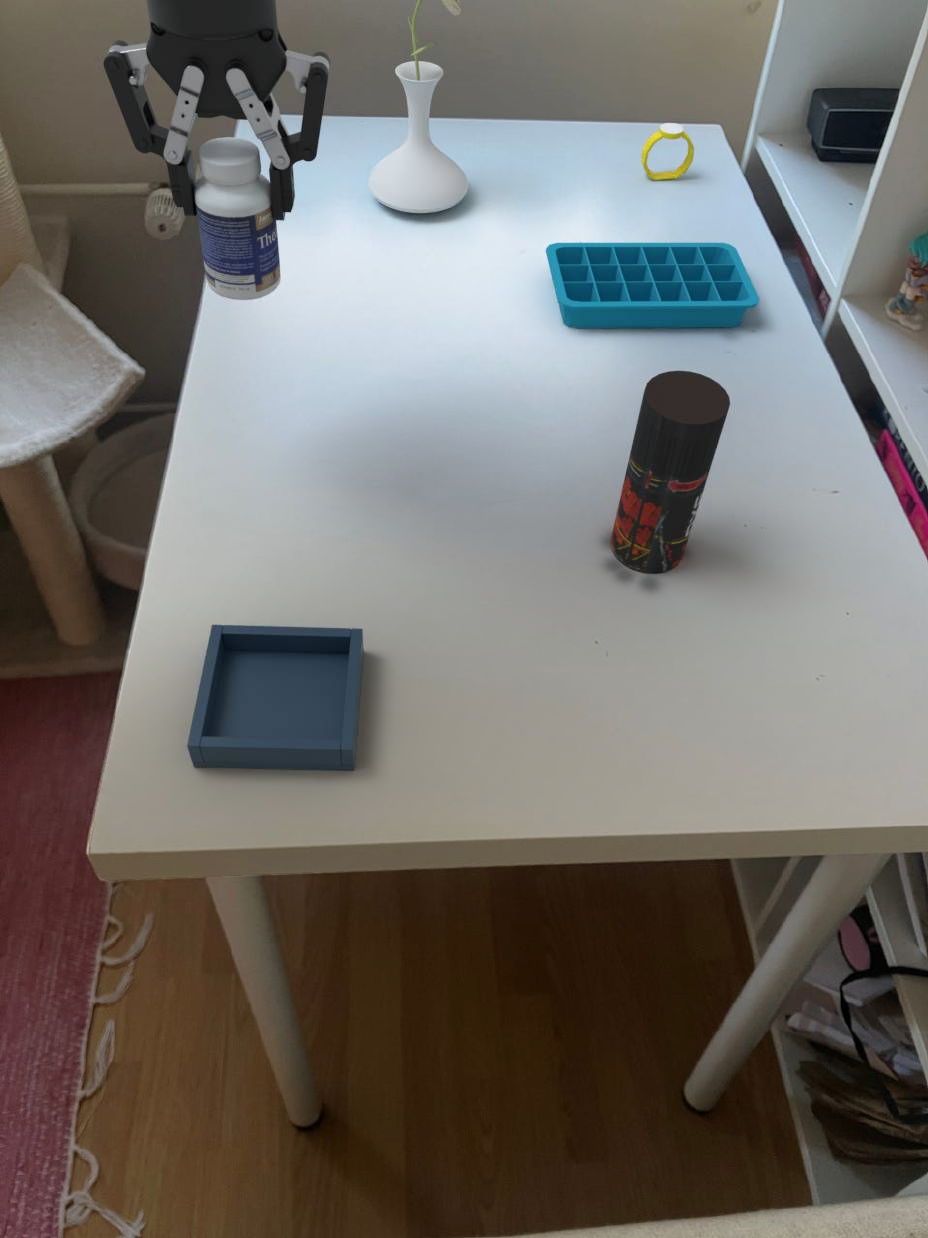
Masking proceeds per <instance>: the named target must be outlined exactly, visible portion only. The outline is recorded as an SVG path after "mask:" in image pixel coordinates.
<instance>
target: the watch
mask: <svg viewBox="0 0 928 1238" xmlns="http://www.w3.org/2000/svg"><path fill="white" fill-rule="evenodd" d="M684 129H685V128H684V127H683V126H682V125H681V124H678V123H674V122H666V123H662V124H661V125H660V126H659V129H658V131H656V132H654V133H653V134H652V135H650V136H649V138H648V139H647V141H646V142H645V144H644V145H643V148H642V151H641V157H640V161H641V164H642V167H643V170H644V172H645V174H646V175H647V176H648V177H649V178H651V179H652V180H653V181H654V182H655V181H662V180H663V181H664V180H678V179H679V178H680V177H682V176H683V175H684V174H685V173H686V172H687V171H688V170H689V169H690V166H691V165H692V163H693V160H694V155H695V146H694V144H693V142H692V140H691V138H690V136H689V134H688V133H687V132H686V131H685V130H684ZM680 138H682V139H684V140H685V141H686V142H687V154H686V156H685V158H684V160H683V162H682V164H680V165H679V166H678V167H677V168H675V170H672V171H661V172H654V171H652V170H651V169H649V166H648V158H649V153H650V151H651V150H652V148H653V147H654V145H656V143H657V142H660V141H661V140H662V139H667V140H677V139H680Z"/></svg>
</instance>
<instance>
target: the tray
mask: <svg viewBox="0 0 928 1238" xmlns="http://www.w3.org/2000/svg"><path fill="white" fill-rule="evenodd" d="M364 652H365V649H364V630H363V628H355V627H354V628H350V627H316V626H315V627H314V626H312V627H311V626H276V625H242V624H240V625H236V624H211V628H210V632H209V637H208V642H207V648H206V652H205V656H204V662H203V667H202V672H201V676H200V681H199V687H198V691H197V696H196V701H195V705H194V710H193V716H192V720H191V724H190V725H191V726H190V729H189V735H188V740H187V745H186V748H187V750H188V754H189V756H190V761H191V763H192V766H193V767H194V768H219V769H220V768H222V769H223V768H224V769H226V768H227V769H264V770H265V769H270V770H308V771H309V770H313V771H315V770H317V771H355V768H356V767H355V766H356V754H357V741H358V729H359V719H360V718H359V717H360V716H359V715H360V706H361V705H360V704H361V693H362V692H361V691H362V678H363V677H362V676H363V666H364Z"/></svg>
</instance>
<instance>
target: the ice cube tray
mask: <svg viewBox="0 0 928 1238" xmlns="http://www.w3.org/2000/svg"><path fill="white" fill-rule="evenodd" d="M545 254H546V258H547V262H548V267H549V272H550V275H551V279H552V284H553V287H554V292H555V297H556V301H557V303H558V307H559V310H560V314H561V319H562V323H563V325H565V326H567V327H569V328H574V329H652V328H653V329H656V328H657V329H666V328H673V329H674V328H678V329H679V328H681V329H682V328H734V327H738V326H740V325H741V324H742V322H743V319H744V317H745V315H746V313H747V310H748V309H753V308H755V307H757V306H758V303H759V302H760V297H759V295H758V292H757V290H756V288H755V286H754V284H753V282H752V280H751V277H750V275H749V272H748V271H747V269H746V266H745V264H744V262H743V260H742V258H741V256H740V254H739V252H738V249H737V248H736V247H735V246H733V245H731V244H729V243H727V242H555V243H551V244H549V245H548V246H547V247H546V248H545Z"/></svg>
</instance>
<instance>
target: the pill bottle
mask: <svg viewBox="0 0 928 1238" xmlns="http://www.w3.org/2000/svg"><path fill="white" fill-rule="evenodd" d="M197 155H198V161H199V170H200V172H201V175H202V176H200V178H199V179H197V180H196V182H197V183H196V185H195V188H194V199H195V207H196V212H197V214H196V218H197V225H198V232H199V239H200V245H201V251H202V258H203V265H204V271H205V278H206V281H207V285H208V287H209V288H210V290H212V292H214V293H215V294H216V295H218V296H220V297H222V298H225V299H230V300H236V301H253V300H259V299H261V298H264V297H266V296H268V295H270V294H271V293H273V292H275V290H276V289H277V288H278V287H279V285H280V283H281V278H282V277H281V276H282V275H281V261H280V251H279V250H280V249H279V238H278V237H279V236H278V225H277V220H274V219H273V209H272V198H271V187H270V179H268V178H267V177H266V176H265V175H264V174H262V162H261V154H260V148H259V147H258V145H257V144H256V143H254V142H252V141H250V140H249V139H245V138H240V137H234V136H233V137H231V136H226V137H217V138H213V139H209V140H207V141H205V142H204V143H202V144H201V145H200V146H199V148H198V154H197Z"/></svg>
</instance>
